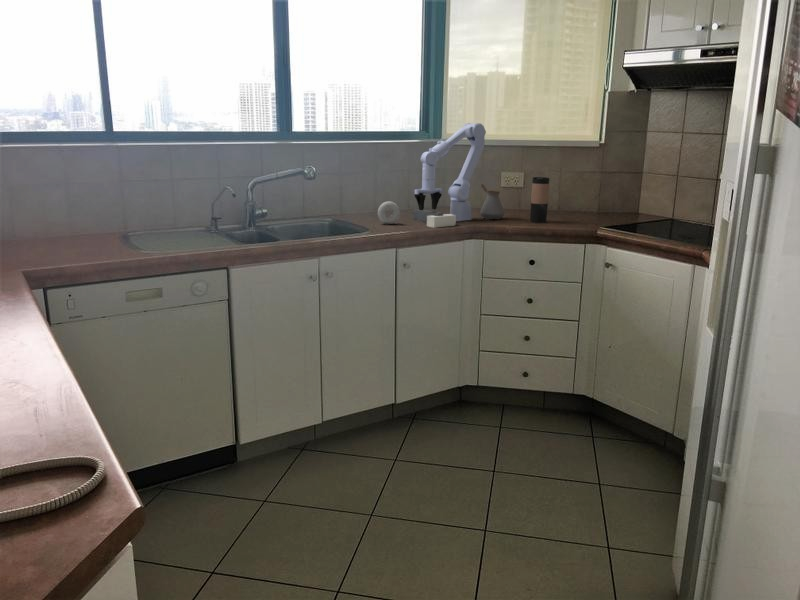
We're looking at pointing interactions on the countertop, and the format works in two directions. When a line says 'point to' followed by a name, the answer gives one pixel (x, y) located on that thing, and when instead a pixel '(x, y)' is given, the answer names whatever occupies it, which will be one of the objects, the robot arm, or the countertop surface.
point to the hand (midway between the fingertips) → (427, 209)
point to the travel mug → (539, 199)
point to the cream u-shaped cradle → (441, 220)
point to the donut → (395, 212)
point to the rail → (424, 214)
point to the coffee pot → (492, 205)
